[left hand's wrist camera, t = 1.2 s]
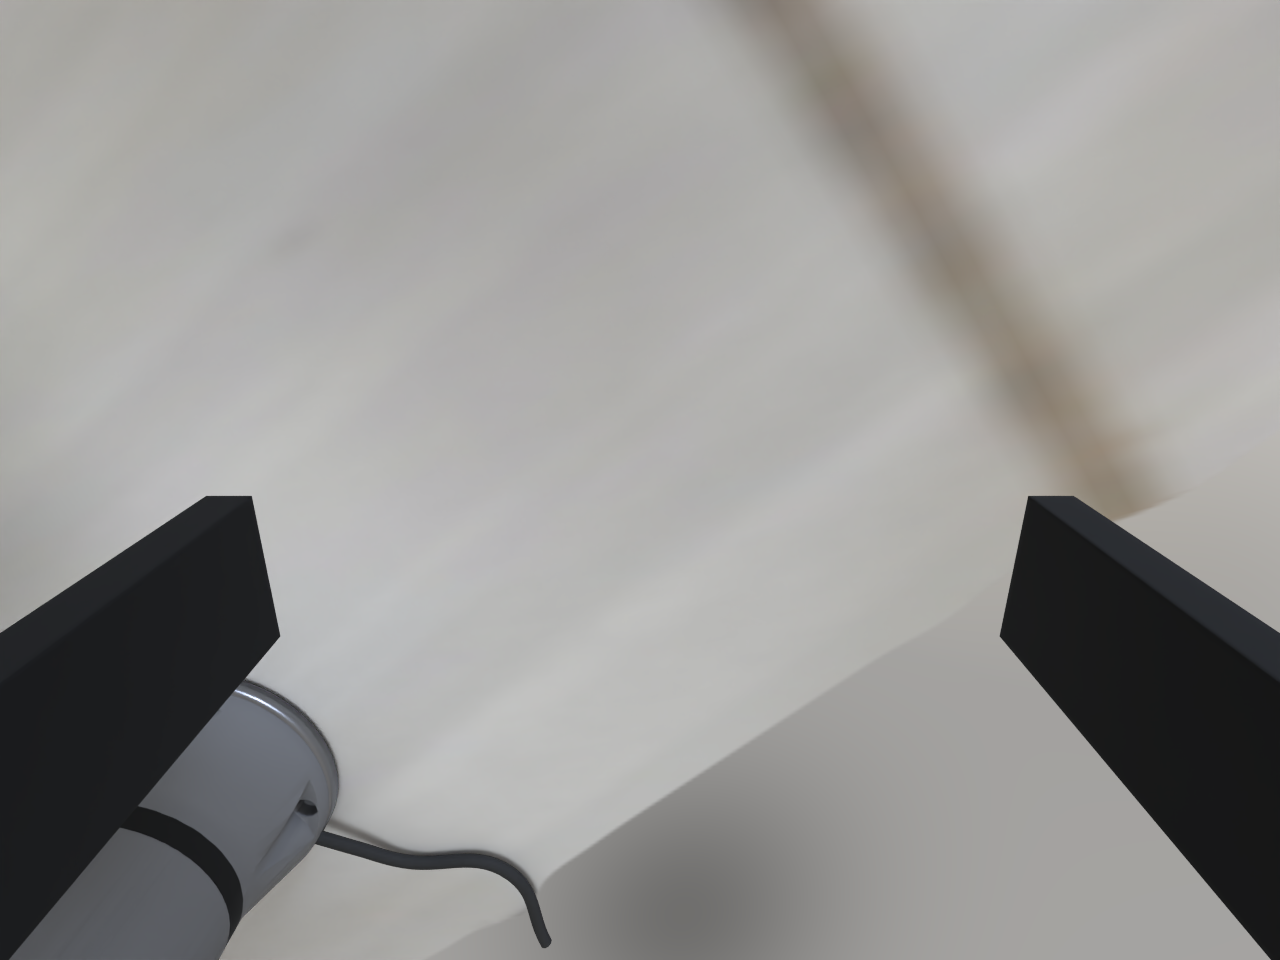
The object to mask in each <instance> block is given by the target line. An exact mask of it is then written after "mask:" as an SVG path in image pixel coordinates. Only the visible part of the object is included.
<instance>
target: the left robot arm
mask: <svg viewBox="0 0 1280 960" xmlns="http://www.w3.org/2000/svg"><path fill="white" fill-rule="evenodd" d="M279 637H280V632H279V628H278V623H277V618H276V613H275V608H274V603H273V598H272V593H271V588H270V583H269V579H268V574H267V569H266V564H265V559H264V554H263V549H262V544H261V539H260V534H259V530H258V525H257V520H256V515H255V510H254V505H253V500H252V496H206V497H204V498H203V499H201V500H200V501H198V502H197V503H195V504H194V505H192V506H191V507H189V508H188V509H186V510H185V511H183V512H182V513H180V514H179V515H177V516H176V517H174V518H173V519H171V520H170V521H168V522H167V523H165V524H164V525H162V526H161V527H159V528H158V529H156V530H155V531H153V532H152V533H150V534H149V535H147V536H146V537H144V538H143V539H141V540H140V541H138V542H137V543H135V544H134V545H132V546H131V547H129V548H128V549H126V550H125V551H123V552H121V553H120V554H118V555H117V556H115V557H114V558H112V559H111V560H109V561H108V562H106V563H105V564H103V565H102V566H100V567H99V568H97V569H96V570H94V571H93V572H91V573H90V574H88V575H87V576H85V577H84V578H82V579H81V580H79V581H78V582H76V583H75V584H73V585H72V586H70V587H69V588H67V589H66V590H64V591H63V592H61V593H60V594H58V595H57V596H55V597H54V598H52V599H51V600H49V601H48V602H46V603H45V604H43V605H42V606H40V607H39V608H37V609H36V610H34V611H33V612H31V613H30V614H28V615H27V616H25V617H24V618H22V619H21V620H19V621H18V622H16V623H15V624H13V625H12V626H10V627H9V628H7V629H6V630H4V631H3V632H1V633H0V960H9V959H10V958H11V957H12V956H13V954H14V953H15V952H16V951H17V950H18V948H19V947H20V946H21V945H22V944H23V942H24V941H25V940H26V939H27V938H28V936H29V935H30V934H31V933H32V932H33V930H34V929H35V928H36V927H37V926H38V925H39V923H40V922H41V921H42V920H43V919H44V917H45V916H46V915H47V914H48V913H49V911H50V910H51V909H52V908H53V907H54V905H55V904H56V903H57V902H58V901H59V899H60V898H61V897H62V896H63V895H64V894H65V892H66V891H67V890H68V889H69V888H70V886H71V885H72V884H73V883H74V882H75V880H76V879H77V878H78V877H79V876H80V874H81V873H82V872H83V871H84V870H85V868H86V867H87V866H88V865H89V864H90V863H91V861H92V860H93V859H94V858H95V857H96V855H97V854H98V853H99V852H100V851H101V849H102V848H103V847H104V846H105V845H106V843H107V842H108V841H109V840H110V839H111V837H112V836H113V835H114V834H115V833H116V832H117V830H118V829H119V828H120V827H121V826H122V824H123V823H124V822H125V821H126V820H127V818H128V817H129V816H130V815H131V814H132V812H133V811H134V810H135V809H136V808H137V806H138V805H139V804H140V803H141V802H142V801H143V799H144V798H145V797H146V796H147V795H148V793H149V792H150V791H151V790H152V789H153V787H154V786H155V785H156V784H157V783H158V781H159V780H160V779H161V778H162V777H163V775H164V774H165V773H166V772H167V771H168V770H169V768H170V767H171V766H172V765H173V764H174V762H175V761H176V760H177V759H178V758H179V756H180V755H181V754H182V753H183V752H184V750H185V749H186V748H187V747H188V746H189V744H190V743H191V742H192V741H193V740H194V739H195V737H196V736H197V735H198V734H199V733H200V731H201V730H202V729H203V728H204V727H205V725H206V724H207V723H208V722H209V721H210V719H211V718H212V717H213V716H214V715H215V713H216V712H217V711H218V710H219V709H220V708H221V706H222V705H223V704H224V703H225V702H226V700H227V699H228V698H229V697H230V696H231V694H232V693H233V692H234V691H235V690H236V688H237V687H238V686H239V685H240V684H241V682H242V681H243V680H244V679H245V678H246V677H247V675H248V674H249V673H250V672H251V671H252V669H253V668H254V667H255V666H256V665H257V663H258V662H259V661H260V660H261V659H262V657H263V656H264V655H265V654H266V653H267V651H268V650H269V649H270V648H271V647H272V646H273V644H274V643H275V642H276V641H277V640H278V638H279ZM1000 637H1001V638H1002V640H1003V641H1004V642H1005V643H1006V644H1007V646H1008V647H1009V648H1010V649H1011V650H1012V651H1013V653H1014V654H1015V655H1016V656H1017V657H1018V659H1019V660H1020V661H1021V662H1022V663H1023V665H1024V666H1025V667H1026V668H1027V669H1028V671H1029V672H1030V673H1031V674H1032V675H1033V677H1034V678H1035V679H1036V680H1037V681H1038V682H1039V684H1040V685H1041V686H1042V687H1043V688H1044V690H1045V691H1046V692H1047V693H1048V694H1049V696H1050V697H1051V698H1052V699H1053V700H1054V702H1055V703H1056V704H1057V705H1058V706H1059V708H1060V709H1061V710H1062V711H1063V712H1064V713H1065V715H1066V716H1067V717H1068V718H1069V719H1070V721H1071V722H1072V723H1073V724H1074V725H1075V727H1076V728H1077V729H1078V730H1079V731H1080V733H1081V734H1082V735H1083V736H1084V737H1085V738H1086V740H1087V741H1088V742H1089V743H1090V744H1091V746H1092V747H1093V748H1094V749H1095V750H1096V752H1097V753H1098V754H1099V755H1100V756H1101V758H1102V759H1103V760H1104V761H1105V762H1106V764H1107V765H1108V766H1109V767H1110V768H1111V770H1112V771H1113V772H1114V773H1115V774H1116V775H1117V777H1118V778H1119V779H1120V780H1121V781H1122V783H1123V784H1124V785H1125V786H1126V787H1127V789H1128V790H1129V791H1130V792H1131V793H1132V795H1133V796H1134V797H1135V798H1136V799H1137V801H1138V802H1139V803H1140V804H1141V805H1142V806H1143V808H1144V809H1145V810H1146V811H1147V812H1148V814H1149V815H1150V816H1151V817H1152V818H1153V820H1154V821H1155V822H1156V823H1157V824H1158V826H1159V827H1160V828H1161V829H1162V830H1163V832H1164V833H1165V834H1166V835H1167V836H1168V837H1169V839H1170V840H1171V841H1172V842H1173V843H1174V845H1175V846H1176V847H1177V848H1178V849H1179V851H1180V852H1181V853H1182V854H1183V855H1184V857H1185V858H1186V859H1187V860H1188V861H1189V862H1190V864H1191V865H1192V866H1193V867H1194V868H1195V870H1196V871H1197V872H1198V873H1199V874H1200V876H1201V877H1202V878H1203V879H1204V880H1205V882H1206V883H1207V884H1208V885H1209V886H1210V887H1211V889H1212V890H1213V891H1214V892H1215V893H1216V895H1217V896H1218V897H1219V898H1220V899H1221V901H1222V902H1223V903H1224V904H1225V905H1226V907H1227V908H1228V909H1229V910H1230V911H1231V913H1232V914H1233V915H1234V916H1235V917H1236V919H1237V920H1238V921H1239V922H1240V923H1241V925H1242V926H1243V927H1244V928H1245V929H1246V930H1247V932H1248V933H1249V934H1250V935H1251V936H1252V938H1253V939H1254V940H1255V941H1256V942H1257V944H1258V945H1259V946H1260V947H1261V948H1262V950H1263V951H1264V952H1265V953H1266V954H1267V956H1268V957H1269V958H1270V959H1271V960H1280V633H1279V632H1277V631H1276V630H1274V629H1273V628H1271V627H1270V626H1268V625H1267V624H1265V623H1264V622H1262V621H1261V620H1259V619H1258V618H1256V617H1255V616H1253V615H1252V614H1250V613H1249V612H1247V611H1246V610H1244V609H1243V608H1241V607H1240V606H1238V605H1237V604H1235V603H1234V602H1232V601H1231V600H1229V599H1228V598H1226V597H1225V596H1223V595H1222V594H1220V593H1219V592H1217V591H1216V590H1214V589H1213V588H1211V587H1210V586H1208V585H1207V584H1205V583H1204V582H1202V581H1201V580H1199V579H1198V578H1196V577H1195V576H1193V575H1192V574H1190V573H1189V572H1187V571H1185V570H1184V569H1182V568H1181V567H1180V566H1178V565H1176V564H1175V563H1173V562H1172V561H1171V560H1169V559H1168V558H1166V557H1164V556H1163V555H1161V554H1160V553H1159V552H1157V551H1155V550H1154V549H1152V548H1151V547H1149V546H1148V545H1146V544H1145V543H1143V542H1142V541H1140V540H1139V539H1137V538H1136V537H1134V536H1133V535H1131V534H1130V533H1128V532H1127V531H1125V530H1124V529H1122V528H1121V527H1119V526H1118V525H1116V524H1115V523H1113V522H1112V521H1110V520H1109V519H1107V518H1106V517H1104V516H1103V515H1101V514H1100V513H1098V512H1097V511H1095V510H1094V509H1092V508H1091V507H1089V506H1088V505H1086V504H1085V503H1083V502H1082V501H1080V500H1079V499H1077V498H1076V497H1074V496H1028V500H1027V505H1026V510H1025V515H1024V520H1023V525H1022V530H1021V534H1020V539H1019V544H1018V549H1017V554H1016V559H1015V564H1014V569H1013V574H1012V579H1011V583H1010V588H1009V593H1008V598H1007V603H1006V608H1005V613H1004V618H1003V623H1002V628H1001V632H1000Z"/></svg>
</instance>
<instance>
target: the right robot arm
mask: <svg viewBox="0 0 1280 960" xmlns="http://www.w3.org/2000/svg"><path fill="white" fill-rule="evenodd" d="M337 795H338V776H337V770H336V766H335V762H334V759H333V757H332V754H331V752H330V750H329V748H328V746H327V744H326V742H325V741H324V739H323V738H322V736H321V735H320V733H319V732H318V731H317V730H316V728H315V727H314V726H313V725H312V724H311V723H310V722H309V721H308V719H307V718H306V717H305V716H303V715H302V714H301V713H300V712H299V711H298V710H297V709H295V708H294V707H293V706H291V705H290V704H289V703H287V702H286V701H284V700H283V699H281V698H280V697H278V696H276V695H275V694H273V693H271V692H269V691H267V690H265V689H263V688H261V687H258V686H256V685H254V684H251V683H248V682H245V681H242V682H241V684H240V685H239V686H238V687H237V688H236V690H235V691H234V692H233V693H232V694H231V696H230V697H229V698H228V699H227V700H226V702H225V703H224V704H223V705H222V706H221V708H220V709H219V710H218V711H217V712H216V713H215V715H214V716H213V717H212V718H211V719H210V721H209V722H208V723H207V724H206V725H205V727H204V728H203V729H202V730H201V731H200V733H199V734H198V735H197V736H196V737H195V739H194V740H193V741H192V742H191V743H190V744H189V746H188V747H187V748H186V749H185V750H184V752H183V753H182V754H181V755H180V756H179V758H178V759H177V760H176V761H175V762H174V764H173V765H172V766H171V767H170V768H169V770H168V771H167V772H166V773H165V774H164V775H163V777H162V778H161V779H160V780H159V781H158V783H157V784H156V785H155V786H154V787H153V789H152V790H151V791H150V792H149V793H148V795H147V796H146V797H145V798H144V799H143V801H142V802H141V803H140V804H139V805H138V806H137V808H136V809H135V810H134V811H133V812H132V814H131V815H130V816H129V817H128V818H127V820H126V821H125V822H124V823H123V824H122V826H121V827H120V828H119V829H118V830H117V832H116V833H115V834H114V835H113V836H112V837H111V839H110V840H109V841H108V842H107V843H106V845H105V846H104V847H103V848H102V849H101V851H100V852H99V853H98V854H97V855H96V857H95V858H94V859H93V860H92V861H91V863H90V864H89V865H88V866H87V867H86V868H85V870H84V871H83V872H82V873H81V874H80V876H79V877H78V878H77V879H76V880H75V882H74V883H73V884H72V885H71V886H70V888H69V889H68V890H67V891H66V892H65V894H64V895H63V896H62V897H61V898H60V899H59V901H58V902H57V903H56V904H55V905H54V907H53V908H52V909H51V910H50V911H49V913H48V914H47V915H46V916H45V917H44V919H43V920H42V921H41V922H40V923H39V925H38V926H37V927H36V928H35V929H34V930H33V932H32V933H31V934H30V935H29V936H28V938H27V939H26V940H25V941H24V942H23V944H22V945H21V946H20V947H19V948H18V950H17V951H16V952H15V953H14V954H13V956H12V957H11V958H10V959H9V960H219V958H220V956H221V954H222V952H223V951H224V949H225V947H226V945H227V943H228V941H229V940H230V938H231V936H232V934H233V933H234V931H235V929H236V927H237V925H238V924H239V922H240V920H241V919H242V917H243V916H244V915H245V914H246V913H247V912H248V911H249V910H250V909H251V908H253V907H254V906H255V905H256V904H257V903H258V902H259V901H260V900H261V899H262V898H263V897H264V896H265V895H266V894H267V893H268V892H269V891H270V890H271V889H272V888H273V887H274V886H275V885H276V884H277V883H278V882H279V881H280V880H281V879H282V878H284V877H285V876H286V875H287V874H288V873H289V872H290V871H291V870H292V869H293V868H294V867H295V866H296V865H297V864H298V863H299V862H300V861H301V860H302V859H303V858H304V857H305V856H306V855H307V854H308V852H309V851H310V850H311V848H312V847H313V846H314V844H317V845H321V846H324V847H328V848H331V849H334V850H338V851H341V852H345V853H348V854H352V855H355V856H359V857H362V858H366V859H369V860H372V861H375V862H379V863H382V864H386V865H390V866H394V867H399V868H406V869H416V870H433V869H447V868H480V869H485V870H488V871H491V872H494V873H496V874H498V875H500V876H502V877H503V878H505V879H507V880H508V881H509V882H511V883H512V884H513V885H514V886H515V887H516V888H517V889H518V890H519V892H520V893H521V895H522V897H523V899H524V901H525V903H526V906H527V909H528V913H529V916H530V920H531V923H532V926H533V929H534V932H535V934H536V936H537V939H538V941H539V943H540V945H541V947H542V948H546V947H548V946H549V945H550V944H551V938H550V936H549V934H548V932H547V929H546V927H545V924H544V921H543V917H542V914H541V910H540V907H539V904H538V900H537V898H536V895H535V893H534V891H533V889H532V887H531V885H530V884H529V882H528V881H527V879H526V878H525V877H524V876H523V875H522V874H521V873H520V872H519V871H517V870H516V869H515V868H514V867H512V866H510V865H509V864H507V863H506V862H503V861H501V860H499V859H497V858H494V857H491V856H486V855H481V854H451V855H437V856H415V855H407V854H401V853H397V852H393V851H389V850H385V849H382V848H379V847H376V846H373V845H370V844H366V843H363V842H360V841H356V840H353V839H349V838H346V837H342V836H339V835H336V834H332V833H329V832H326V831H323V830H324V829H325V827H326V825H327V823H328V821H329V819H330V817H331V815H332V813H333V810H334V808H335V804H336V800H337Z"/></svg>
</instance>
